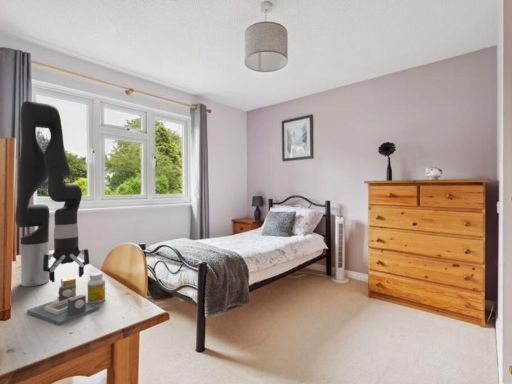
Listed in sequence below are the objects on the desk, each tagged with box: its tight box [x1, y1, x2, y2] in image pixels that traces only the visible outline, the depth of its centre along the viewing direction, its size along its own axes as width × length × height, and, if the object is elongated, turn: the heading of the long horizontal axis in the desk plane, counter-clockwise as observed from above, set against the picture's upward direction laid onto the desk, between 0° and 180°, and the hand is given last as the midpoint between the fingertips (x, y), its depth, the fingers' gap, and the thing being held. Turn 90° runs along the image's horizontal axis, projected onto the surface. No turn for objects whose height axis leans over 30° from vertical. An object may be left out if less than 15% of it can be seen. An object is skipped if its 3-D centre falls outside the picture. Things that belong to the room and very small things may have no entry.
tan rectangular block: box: [60, 276, 77, 296], centre depth 104 cm, size 4×4×6 cm
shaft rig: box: [26, 285, 99, 326], centre depth 90 cm, size 18×12×6 cm, turn 64°
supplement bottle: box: [87, 271, 106, 304], centre depth 99 cm, size 5×5×10 cm
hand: (67, 279), depth 103 cm, fingers open, 8 cm apart
